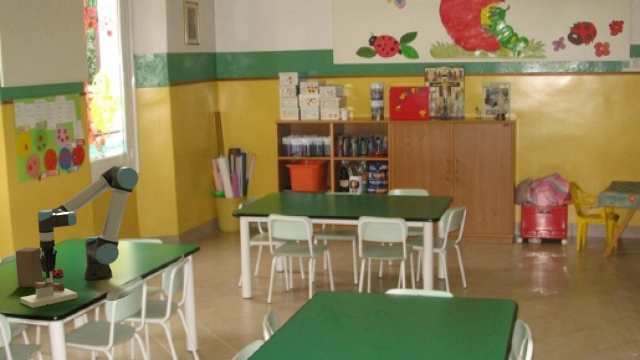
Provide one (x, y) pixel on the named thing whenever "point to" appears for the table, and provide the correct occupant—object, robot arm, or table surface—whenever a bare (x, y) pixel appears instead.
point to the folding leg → (49, 285)
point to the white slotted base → (48, 297)
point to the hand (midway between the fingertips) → (49, 283)
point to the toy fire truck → (58, 272)
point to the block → (28, 267)
